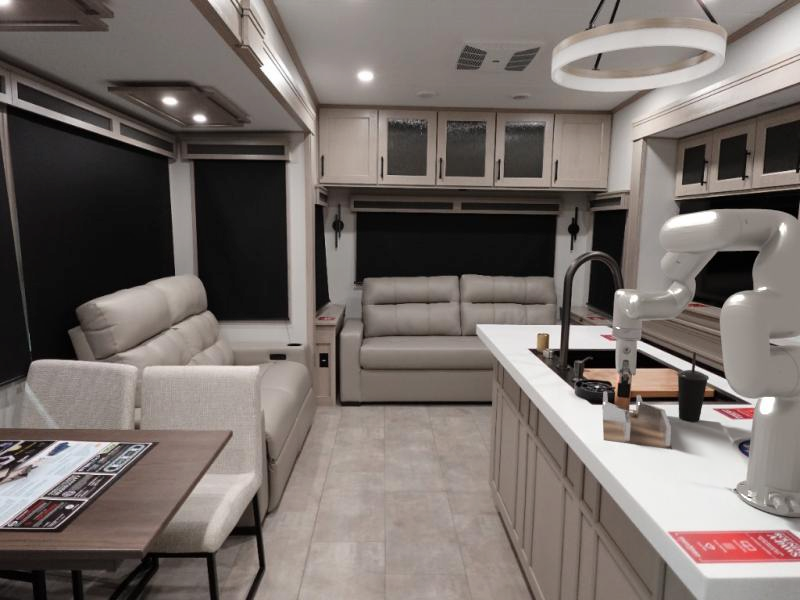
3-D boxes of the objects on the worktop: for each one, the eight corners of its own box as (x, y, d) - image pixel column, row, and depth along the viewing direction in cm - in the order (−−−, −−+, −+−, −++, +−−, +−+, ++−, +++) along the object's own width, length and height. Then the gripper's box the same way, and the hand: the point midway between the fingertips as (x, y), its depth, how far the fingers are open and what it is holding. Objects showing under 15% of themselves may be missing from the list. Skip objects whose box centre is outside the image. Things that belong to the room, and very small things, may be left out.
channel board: (672, 453, 125) (672, 449, 125) (603, 443, 130) (603, 439, 130) (660, 416, 149) (660, 412, 149) (602, 409, 154) (602, 406, 154)
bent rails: (669, 447, 126) (671, 427, 125) (603, 438, 131) (604, 419, 130) (658, 414, 148) (660, 397, 147) (602, 407, 153) (603, 391, 152)
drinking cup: (669, 422, 145) (675, 352, 142) (678, 415, 150) (684, 347, 147) (699, 429, 139) (706, 357, 136) (707, 422, 145) (714, 352, 142)
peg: (629, 415, 146) (632, 374, 145) (614, 413, 148) (617, 372, 146) (628, 411, 150) (631, 370, 149) (613, 409, 152) (616, 369, 150)
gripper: (643, 340, 136) (639, 403, 139) (638, 328, 152) (634, 385, 155) (613, 338, 139) (609, 400, 142) (611, 326, 155) (607, 382, 158)
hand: (622, 392), depth 148 cm, fingers open, 8 cm apart
